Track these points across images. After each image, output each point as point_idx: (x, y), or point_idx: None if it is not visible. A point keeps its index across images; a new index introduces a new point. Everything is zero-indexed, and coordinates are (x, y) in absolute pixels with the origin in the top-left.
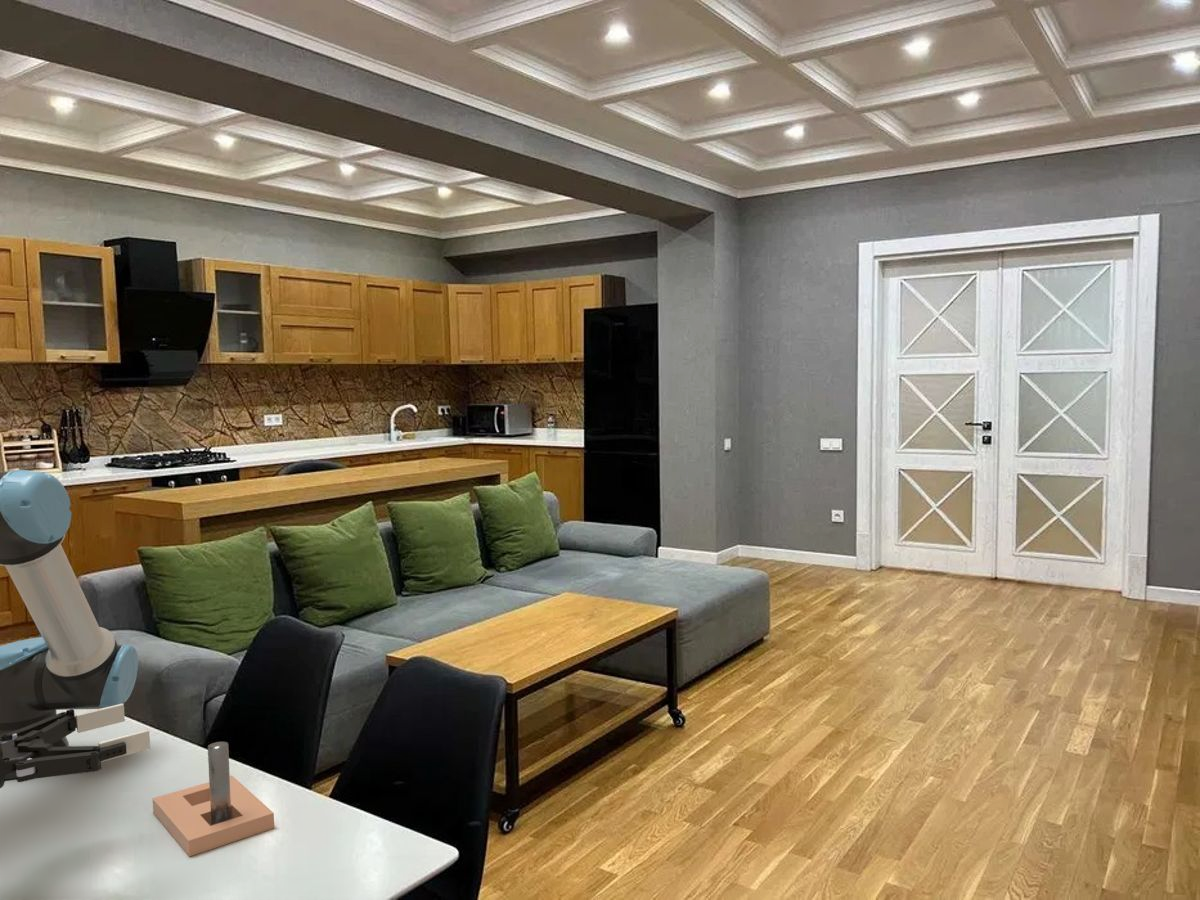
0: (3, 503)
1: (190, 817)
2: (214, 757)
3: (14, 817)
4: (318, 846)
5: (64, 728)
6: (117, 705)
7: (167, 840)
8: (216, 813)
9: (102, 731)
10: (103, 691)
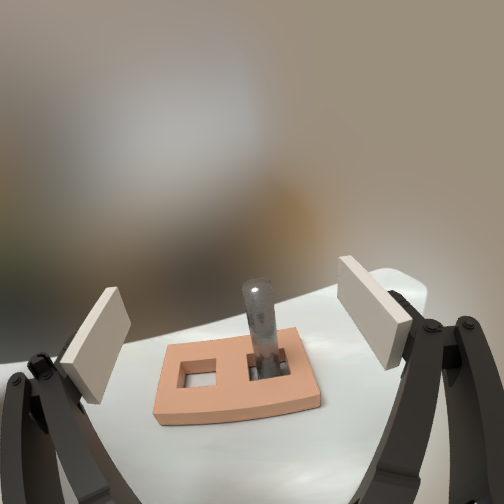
0: None
1: (250, 390)
2: (270, 298)
3: None
4: (350, 317)
5: (82, 418)
6: (107, 294)
7: (251, 426)
8: (276, 362)
9: None
10: None
